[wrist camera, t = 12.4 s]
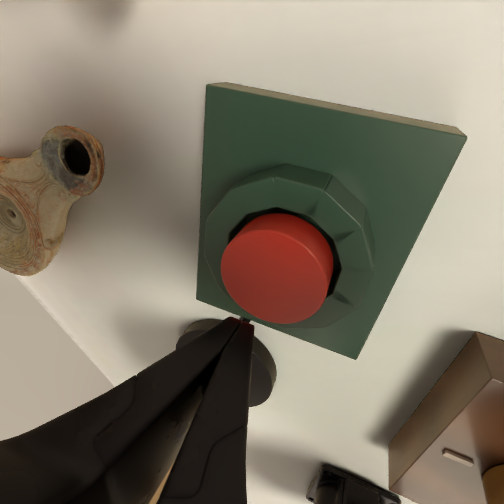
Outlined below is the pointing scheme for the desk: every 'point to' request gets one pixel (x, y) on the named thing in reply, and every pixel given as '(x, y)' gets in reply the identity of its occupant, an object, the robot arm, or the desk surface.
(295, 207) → the switch block
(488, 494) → the dimmer knob
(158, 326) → the desk surface
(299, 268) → the button
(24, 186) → the oil lamp
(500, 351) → the dimmer panel
